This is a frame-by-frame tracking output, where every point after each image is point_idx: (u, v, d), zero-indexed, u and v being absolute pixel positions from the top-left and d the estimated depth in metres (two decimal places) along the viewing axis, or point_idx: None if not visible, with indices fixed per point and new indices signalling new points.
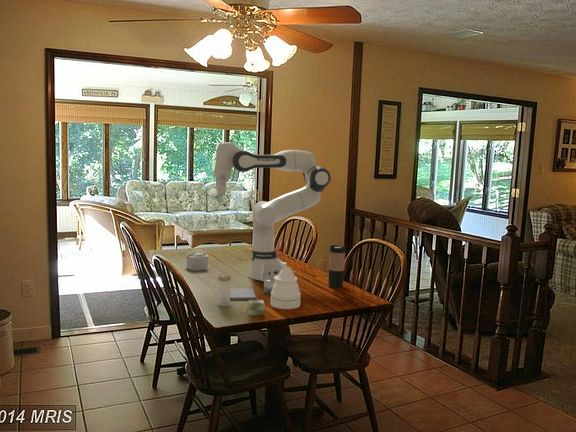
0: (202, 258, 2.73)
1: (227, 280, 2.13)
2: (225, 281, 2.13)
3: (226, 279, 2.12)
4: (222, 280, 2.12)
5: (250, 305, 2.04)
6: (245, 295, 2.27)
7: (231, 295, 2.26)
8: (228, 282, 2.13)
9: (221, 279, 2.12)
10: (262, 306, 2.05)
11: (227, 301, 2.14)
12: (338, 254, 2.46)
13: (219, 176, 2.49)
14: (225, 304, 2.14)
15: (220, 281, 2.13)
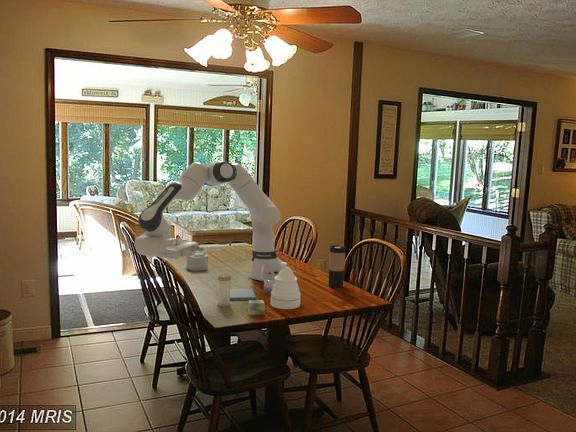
0: (202, 258, 2.73)
1: (227, 280, 2.13)
2: (225, 281, 2.13)
3: (226, 279, 2.12)
4: (222, 280, 2.12)
5: (250, 305, 2.04)
6: (245, 295, 2.27)
7: (231, 295, 2.26)
8: (228, 282, 2.13)
9: (221, 279, 2.12)
10: (262, 306, 2.05)
11: (227, 301, 2.14)
12: (338, 254, 2.46)
13: None
14: (225, 304, 2.14)
15: (220, 281, 2.13)
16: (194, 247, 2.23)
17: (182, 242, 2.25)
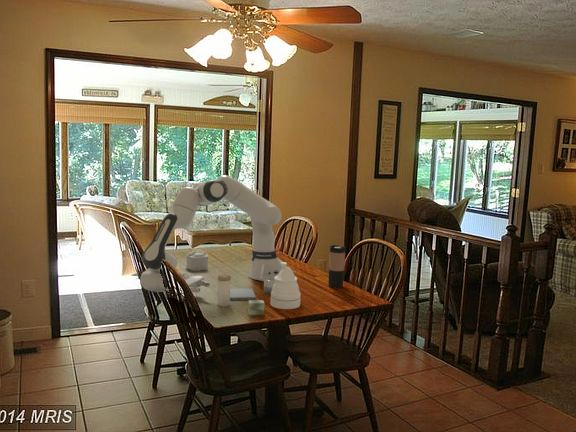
0: (202, 258, 2.73)
1: (227, 280, 2.13)
2: (225, 281, 2.13)
3: (226, 279, 2.12)
4: (222, 280, 2.12)
5: (250, 305, 2.04)
6: (245, 295, 2.27)
7: (231, 295, 2.26)
8: (228, 282, 2.13)
9: (221, 279, 2.12)
10: (262, 306, 2.05)
11: (227, 301, 2.14)
12: (338, 254, 2.46)
13: None
14: (225, 304, 2.14)
15: (220, 281, 2.13)
16: (200, 282, 2.24)
17: (188, 277, 2.26)
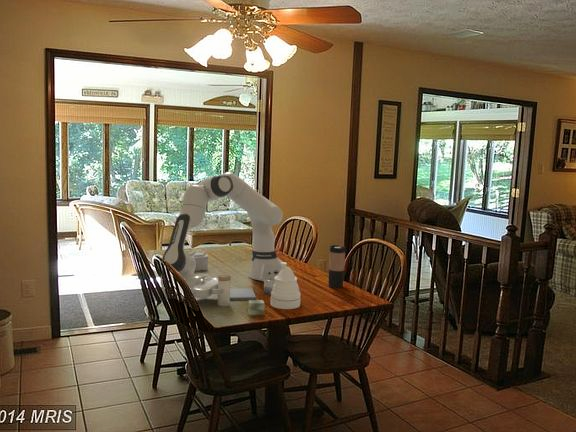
0: (202, 258, 2.73)
1: (227, 280, 2.13)
2: (225, 281, 2.13)
3: (226, 279, 2.12)
4: (222, 280, 2.12)
5: (250, 305, 2.04)
6: (245, 295, 2.27)
7: (231, 295, 2.26)
8: (228, 282, 2.13)
9: (221, 279, 2.12)
10: (262, 306, 2.05)
11: (227, 301, 2.14)
12: (338, 254, 2.46)
13: None
14: (225, 304, 2.14)
15: (220, 281, 2.13)
16: None
17: (208, 279, 2.23)
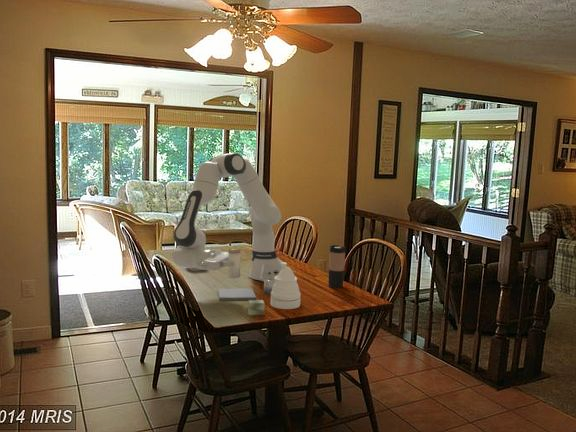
0: None
1: (237, 253, 2.20)
2: (235, 254, 2.20)
3: (236, 252, 2.20)
4: (232, 253, 2.20)
5: (250, 305, 2.04)
6: (245, 295, 2.27)
7: (231, 295, 2.26)
8: (238, 255, 2.21)
9: (231, 252, 2.20)
10: (262, 306, 2.05)
11: (237, 273, 2.22)
12: (338, 254, 2.46)
13: None
14: (235, 276, 2.21)
15: (230, 254, 2.20)
16: None
17: (219, 253, 2.30)
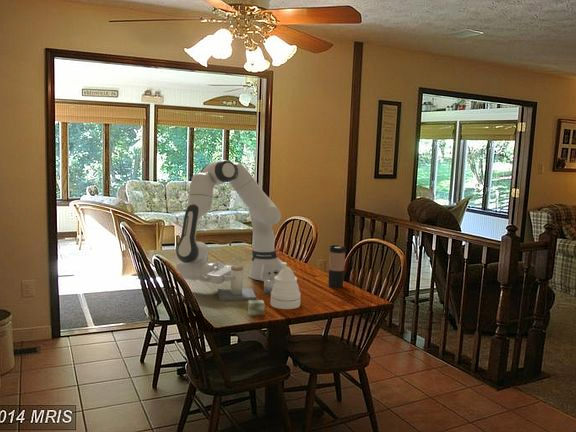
0: None
1: (240, 270, 2.26)
2: (238, 271, 2.26)
3: (239, 269, 2.26)
4: (235, 270, 2.25)
5: (250, 305, 2.04)
6: (245, 295, 2.27)
7: (231, 295, 2.26)
8: (241, 272, 2.27)
9: (234, 269, 2.26)
10: (262, 306, 2.05)
11: (240, 290, 2.28)
12: (338, 254, 2.46)
13: None
14: (238, 292, 2.27)
15: (233, 271, 2.26)
16: None
17: (222, 266, 2.36)
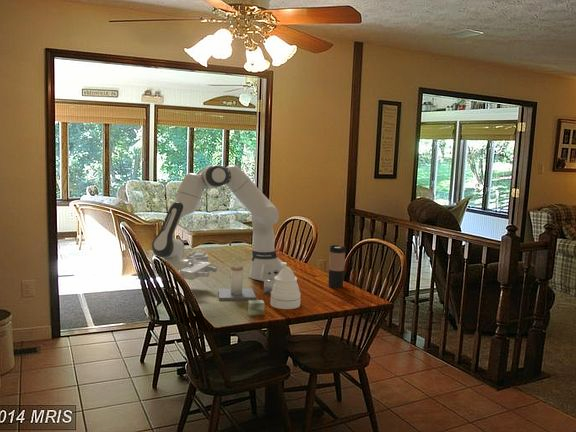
0: (202, 258, 2.73)
1: (240, 270, 2.26)
2: (238, 271, 2.26)
3: (239, 269, 2.26)
4: (235, 270, 2.26)
5: (250, 305, 2.04)
6: (245, 295, 2.27)
7: (231, 295, 2.26)
8: (240, 272, 2.27)
9: (234, 269, 2.26)
10: (262, 306, 2.05)
11: (240, 290, 2.28)
12: (338, 254, 2.46)
13: None
14: (238, 292, 2.27)
15: (233, 271, 2.26)
16: (208, 267, 2.38)
17: (196, 262, 2.39)
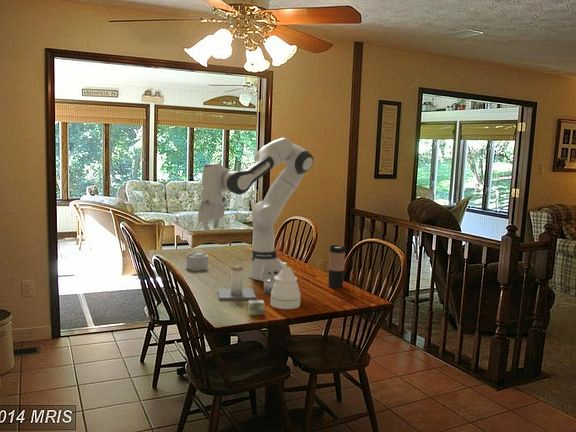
0: (202, 258, 2.73)
1: (240, 270, 2.26)
2: (238, 271, 2.26)
3: (239, 269, 2.26)
4: (235, 270, 2.26)
5: (250, 305, 2.04)
6: (245, 295, 2.27)
7: (231, 295, 2.26)
8: (241, 272, 2.27)
9: (234, 269, 2.26)
10: (262, 306, 2.05)
11: (240, 290, 2.28)
12: (338, 254, 2.46)
13: None
14: (238, 292, 2.27)
15: (233, 271, 2.26)
16: (216, 218, 2.33)
17: (220, 205, 2.33)
